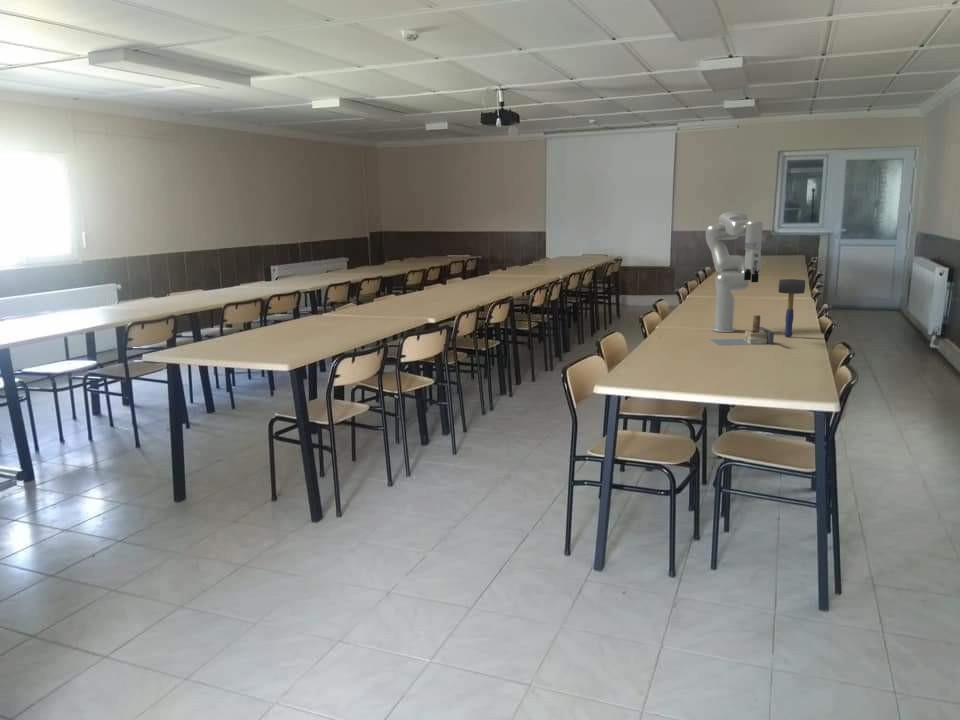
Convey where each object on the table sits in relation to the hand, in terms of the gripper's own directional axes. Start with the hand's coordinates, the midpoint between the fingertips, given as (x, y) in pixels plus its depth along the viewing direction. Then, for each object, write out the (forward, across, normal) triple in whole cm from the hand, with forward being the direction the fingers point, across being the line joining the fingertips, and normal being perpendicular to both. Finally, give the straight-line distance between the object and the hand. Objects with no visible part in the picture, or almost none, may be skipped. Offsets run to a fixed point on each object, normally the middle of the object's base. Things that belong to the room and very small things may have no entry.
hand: (750, 281), depth 350 cm
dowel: (+28, -11, 0) cm, 30 cm away
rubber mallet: (+31, +8, -24) cm, 40 cm away
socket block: (+29, -11, 0) cm, 31 cm away
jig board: (+30, -10, +7) cm, 33 cm away
